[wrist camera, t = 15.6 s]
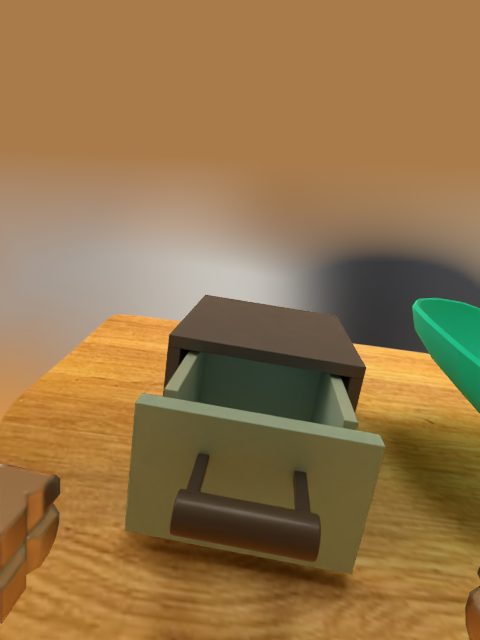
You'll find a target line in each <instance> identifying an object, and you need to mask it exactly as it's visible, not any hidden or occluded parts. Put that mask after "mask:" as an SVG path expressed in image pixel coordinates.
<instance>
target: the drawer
mask: <svg viewBox="0 0 480 640" xmlns="http://www.w3.org/2000/svg"><path fill="white" fill-rule="evenodd" d="M357 426H358V420H357V418H356V415H355V413H354V410H353V407H352V405H351V402H350V400H349V397H348V394H347V392H346V389H345V387H344V384H343V381H342V379H341V376H340V375H336V374H330V373H324V372H318V371H312V370H306V369H300V368H294V367H288V366H282V365H276V364H270V363H264V362H259V361H253V360H247V359H241V358H235V357H229V356H223V355H217V354H211V353H205V352H199V351H193V350H190V351H189V352H188V354H187V355H186V357H185V358H184V360H183V361H182V363H181V364H180V366H179V367H178V369H177V370H176V372H175V374H174V375H173V377H172V378H171V380H170V381H169V383H168V384H167V386H166V387H165V389H164V397H163V396H157V395H152V394H146V393H143V394H142V395H141V396H140V397H139V399H138V400H137V401H136V403H135V414H134V426H133V437H132V449H131V461H130V472H129V484H128V496H127V507H126V519H125V531H127V532H132V533H138V534H143V535H148V536H153V537H158V538H164V539H169V540H174V541H179V542H184V543H190V544H195V545H200V546H205V547H210V548H215V549H221V550H226V551H231V552H236V553H241V554H247V555H252V556H257V557H262V558H267V559H273V560H278V561H283V562H288V563H293V564H298V565H304V566H309V567H314V568H319V569H324V570H330V571H335V572H340V573H345V574H350V575H351V574H352V571H353V567H354V563H355V560H356V556H357V552H358V548H359V545H360V541H361V537H362V533H363V530H364V526H365V522H366V519H367V515H368V511H369V507H370V504H371V500H372V496H373V492H374V489H375V485H376V481H377V478H378V474H379V470H380V466H381V463H382V459H383V455H384V451H385V448H386V446H385V444H384V442H383V440H382V438H381V435H380V434H374V433H369V432H363V431H357Z"/></svg>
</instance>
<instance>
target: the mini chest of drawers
mask: <svg viewBox="0 0 480 640" xmlns="http://www.w3.org/2000/svg"><path fill="white" fill-rule="evenodd" d="M190 350H193V351H199V352H205V353H211V354H217V355H223V356H229V357H235V358H241V359H247V360H253V361H259V362H264V363H270V364H276V365H282V366H288V367H294V368H300V369H306V370H312V371H318V372H324V373H330V374H336V375H340V376H341V379H342V381H343V384H344V387H345V389H346V392H347V394H348V397H349V400H350V402H351V405H352V407H353V410H354V413H355V411H356V407H357V403H358V399H359V395H360V391H361V386H362V382H363V378H364V374H365V370H366V367H365V365H364V363H363V361H362V360H361V358H360V356H359V354H358V353H357V351H356V349H355V347H354V346H353V344H352V342H351V340H350V339H349V337H348V335H347V334H346V332H345V330H344V328H343V327H342V325H341V323H340V321H339V320H338V318H337V316H333V315H327V314H321V313H315V312H309V311H302V310H296V309H290V308H284V307H277V306H271V305H265V304H259V303H253V302H246V301H241V300H234V299H228V298H222V297H215V296H209V295H205V296H204V297H203V298H202V299H201V300H200V302H199V303H198V304H197V305H196V306H195V307H194V308H193V309H192V311H190V313H189V314H188V315H187V316H186V317H185V318H184V319H183V320H182V321H181V323H180V324H179V325H178V326H177V327H176V328H175V329H174V330H173V331H172V332H171V334H170V335H169V343H168V352H167V362H166V372H165V381H164V389H165V387H166V386H167V384H168V383H169V381H170V380H171V378H172V377H173V375H174V374H175V372H176V370H177V369H178V367H179V366H180V364H181V363H182V361H183V360H184V358H185V357H186V355H187V354H188V352H189V351H190ZM163 397H164V391H163Z"/></svg>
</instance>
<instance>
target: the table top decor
mask: <svg viewBox="0 0 480 640" xmlns="http://www.w3.org/2000/svg"><path fill="white" fill-rule="evenodd" d="M412 308H413V317H414V326H415V330H416V332H417V334H418V335H419V337H420V339H421V340H422V342H423V344H424V345H425V347H426V349H427V350H428V352H429V354H430V355H431V357H432V359H433V360H434V361H435V362H436V363H437V365H438V366H439V367H440V368H441V369H442V370H443V372H444V373H445V374H446V375H447V376H448V377H449V379H450V380H451V381H452V382H453V383H454V385H455V386H456V387H457V388H458V389H459V390H460V392H461V393H462V394H463V395H464V396H465V397H466V399H467V400H468V401H469V402H470V403H471V404H472V405H473V406H474V408H475V409H476V410H477V411H478V412H479V413H480V308H477V307H475V306H472V305H469V304H466V303H464V302H458V301H453V300H447V299H441V298H424V299H418V300H417V301H416V302H415V303H414V305H413V306H412Z"/></svg>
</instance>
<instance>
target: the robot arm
mask: <svg viewBox="0 0 480 640" xmlns="http://www.w3.org/2000/svg"><path fill="white" fill-rule="evenodd" d="M59 494H60V478H59V477H58V476H57V475H54V474H49V473H45V472H40V471H35V470H31V469H26V468H21V467H17V466H12V465H5V464H1V463H0V623H1V624H2V623H3V621H4V620H5V618H6V617H7V615H8V614H9V612H10V611H11V610H12V608H13V607H14V605H15V604H16V602H17V601H18V599H19V598H20V596H21V595H22V593H23V592H24V590H25V589H26V575H27V574H28V573H30V572H32V571H34V570H35V569H37V568H39V567H40V566H41V565H42V563H43V562H44V560H45V559H46V557H47V556H48V554H49V552H50V550H51V547H52V545H53V543H54V540H55V538H56V534H57V530H58V525H59V512H58V510H57V509H56V507H55V505H54V504H53V502H54V501H55V500H56V498H57V497H58V496H59ZM477 574H478V576H479V578H480V568H479V570H478V573H477ZM465 612H466V627H467V631H468V635H469V639H470V640H480V586H479V587H477V588H476V589H474V590H473V591H471V592H470V594H469V597H468V600H467V604H466V607H465Z"/></svg>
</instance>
